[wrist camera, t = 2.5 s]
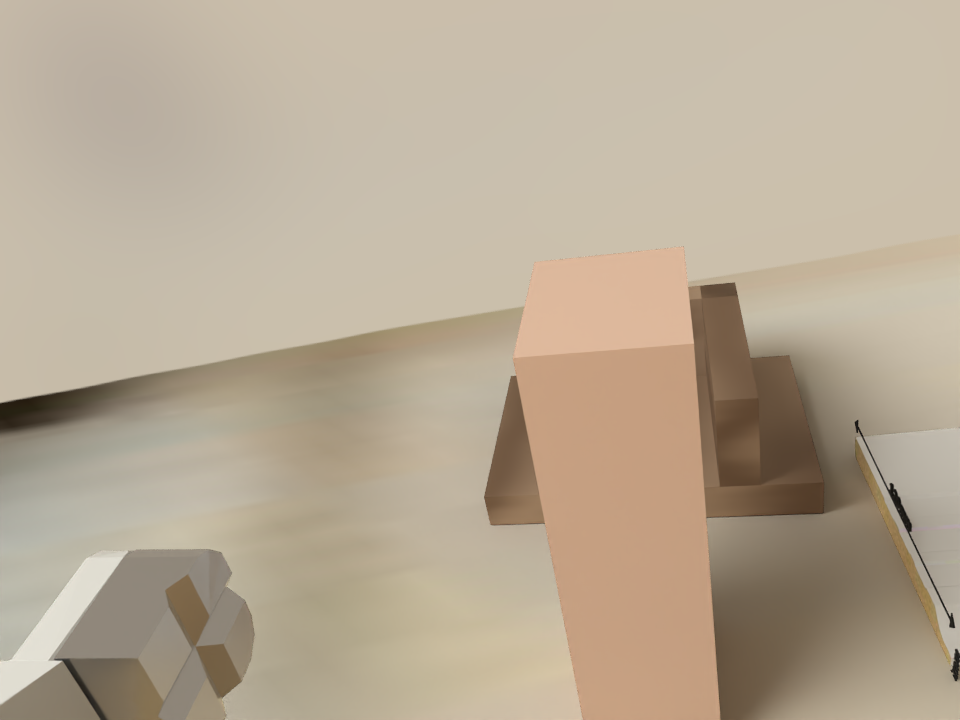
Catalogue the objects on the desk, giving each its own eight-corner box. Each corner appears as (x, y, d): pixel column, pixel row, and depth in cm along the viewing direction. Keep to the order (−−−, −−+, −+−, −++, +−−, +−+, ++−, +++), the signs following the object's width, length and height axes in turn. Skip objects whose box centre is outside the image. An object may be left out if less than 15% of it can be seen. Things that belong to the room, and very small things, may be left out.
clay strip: (587, 743, 27) (512, 357, 20) (594, 617, 31) (534, 262, 24) (722, 746, 26) (693, 343, 19) (710, 616, 30) (683, 246, 23)
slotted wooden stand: (490, 524, 36) (465, 416, 33) (515, 401, 44) (496, 304, 41) (823, 512, 33) (825, 393, 30) (789, 382, 41) (788, 277, 38)
